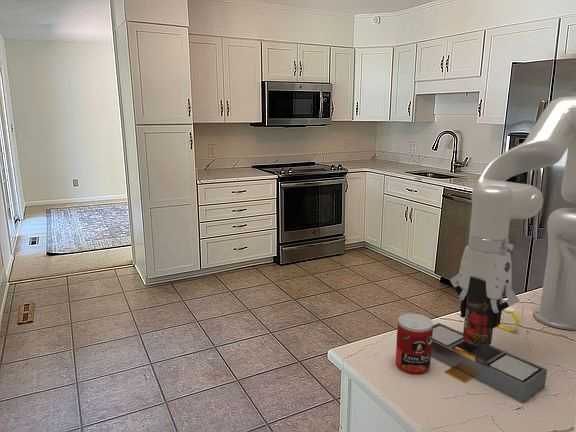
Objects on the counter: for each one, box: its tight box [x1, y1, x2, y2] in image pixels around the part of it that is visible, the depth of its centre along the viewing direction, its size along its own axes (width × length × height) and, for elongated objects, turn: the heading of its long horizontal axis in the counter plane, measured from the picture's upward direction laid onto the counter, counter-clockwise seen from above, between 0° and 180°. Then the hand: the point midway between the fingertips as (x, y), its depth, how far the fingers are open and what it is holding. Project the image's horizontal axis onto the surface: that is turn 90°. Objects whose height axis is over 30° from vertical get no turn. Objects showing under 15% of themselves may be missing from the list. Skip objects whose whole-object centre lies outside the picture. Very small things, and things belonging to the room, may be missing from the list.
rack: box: [431, 322, 548, 404], centre depth 99 cm, size 12×26×5 cm, turn 36°
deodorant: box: [462, 277, 494, 346], centre depth 98 cm, size 6×6×15 cm
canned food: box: [395, 313, 434, 375], centre depth 100 cm, size 8×8×11 cm
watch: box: [497, 306, 520, 332], centre depth 117 cm, size 6×3×6 cm, turn 39°
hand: (479, 320), depth 98 cm, fingers closed on deodorant, 5 cm apart
